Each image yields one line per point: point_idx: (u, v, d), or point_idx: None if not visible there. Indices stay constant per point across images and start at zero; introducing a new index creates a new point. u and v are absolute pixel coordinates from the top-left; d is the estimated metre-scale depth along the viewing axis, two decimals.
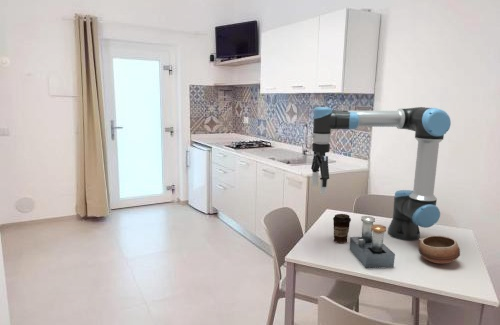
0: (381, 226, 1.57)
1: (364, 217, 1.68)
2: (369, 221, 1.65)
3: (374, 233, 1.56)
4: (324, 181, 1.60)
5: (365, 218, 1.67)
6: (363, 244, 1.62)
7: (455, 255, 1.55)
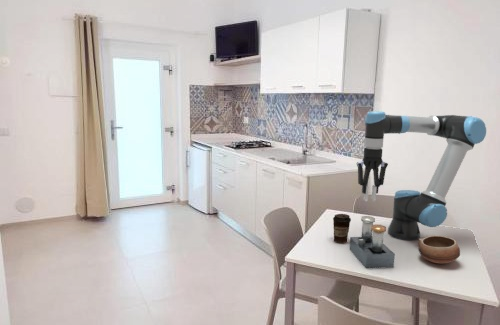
0: (381, 226, 1.57)
1: (364, 217, 1.68)
2: (369, 221, 1.65)
3: (374, 233, 1.56)
4: (362, 187, 1.65)
5: (365, 218, 1.67)
6: (363, 244, 1.62)
7: (455, 255, 1.55)
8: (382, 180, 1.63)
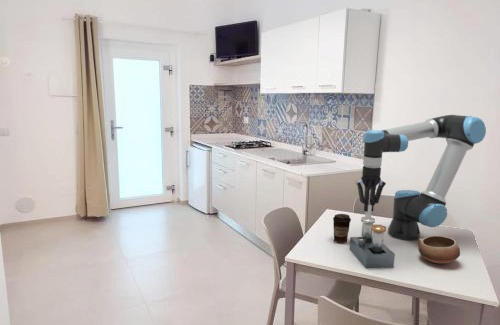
0: (381, 226, 1.57)
1: (364, 218, 1.68)
2: (369, 222, 1.65)
3: (374, 233, 1.56)
4: (364, 205, 1.66)
5: (365, 219, 1.67)
6: (363, 244, 1.62)
7: (455, 255, 1.55)
8: (378, 198, 1.65)
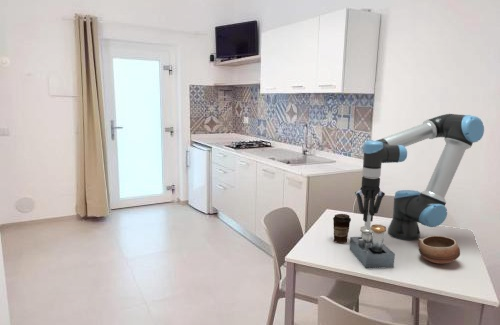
0: (381, 226, 1.57)
1: (363, 228, 1.69)
2: (369, 232, 1.66)
3: (374, 233, 1.56)
4: (363, 215, 1.67)
5: (364, 229, 1.68)
6: (363, 244, 1.62)
7: (455, 255, 1.55)
8: (377, 209, 1.66)
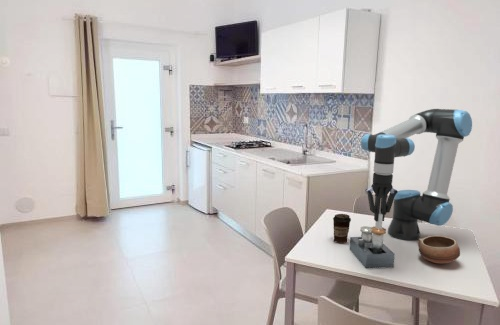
0: None
1: (363, 228, 1.69)
2: (369, 232, 1.66)
3: (374, 235, 1.56)
4: (374, 214, 1.56)
5: (364, 229, 1.68)
6: (363, 244, 1.62)
7: (455, 255, 1.55)
8: (389, 207, 1.54)
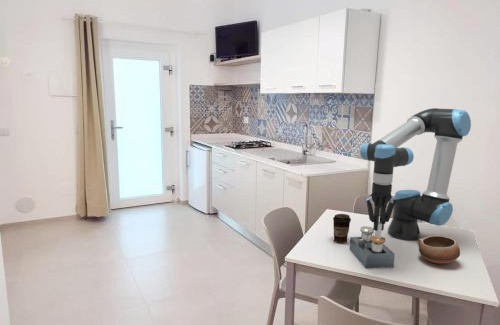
0: None
1: (363, 228, 1.69)
2: (369, 232, 1.66)
3: (373, 244, 1.57)
4: (374, 224, 1.57)
5: (364, 229, 1.68)
6: (363, 244, 1.62)
7: (455, 255, 1.55)
8: (388, 217, 1.55)
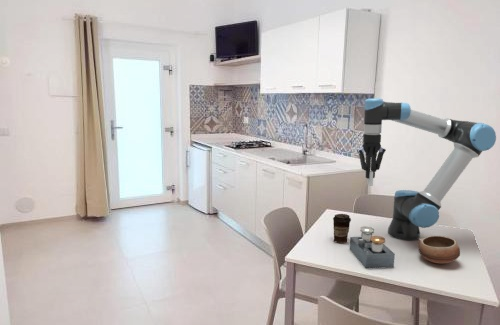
0: (380, 237, 1.58)
1: (363, 228, 1.69)
2: (369, 232, 1.66)
3: (373, 244, 1.57)
4: (366, 172, 1.71)
5: (364, 229, 1.68)
6: (363, 244, 1.62)
7: (455, 255, 1.55)
8: (379, 165, 1.70)
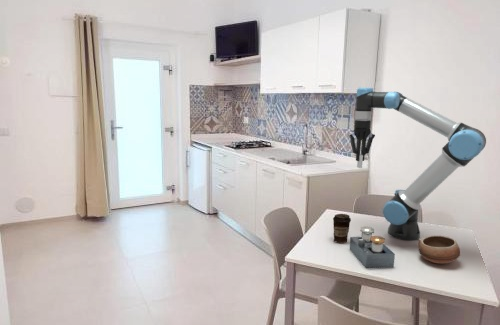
0: (380, 237, 1.58)
1: (363, 228, 1.69)
2: (369, 232, 1.66)
3: (373, 244, 1.57)
4: (356, 155, 1.86)
5: (364, 229, 1.68)
6: (363, 244, 1.62)
7: (455, 255, 1.55)
8: (368, 149, 1.85)
